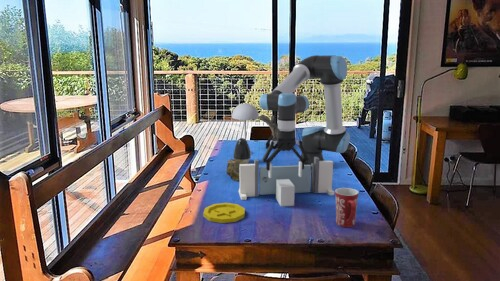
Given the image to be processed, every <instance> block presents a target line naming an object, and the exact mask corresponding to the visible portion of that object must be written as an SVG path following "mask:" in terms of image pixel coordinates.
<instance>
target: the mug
mask: <svg viewBox="0 0 500 281" xmlns="http://www.w3.org/2000/svg"><path fill="white" fill-rule="evenodd" d="M334 192H335V223H336V225H337V226H338V225H339V227H340V228H341V227H342V228H353V227H355V225H356V217H357V208H358V207H357V206H358V197H359V194H360V192H359V190H357V189H355V188H351V187H339V188H336V189H335V190H334Z"/></svg>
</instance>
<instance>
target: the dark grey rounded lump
mask: <svg viewBox="0 0 500 281" xmlns="http://www.w3.org/2000/svg"><path fill="white" fill-rule="evenodd" d="M250 151H251V149H250V146H249V143H248V140H247V139H246V140H245V137H244V138H243V137H241V138H239V139H238V140H237V142H236V143H235V146H234V150H233V158H232V159H240V160H243V161H244V162H249V163H250V160H251V157H252V156H251V155H252V154H250Z"/></svg>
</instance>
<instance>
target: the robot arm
mask: <svg viewBox="0 0 500 281" xmlns="http://www.w3.org/2000/svg"><path fill="white" fill-rule="evenodd" d="M347 75H348V63H347V61H346V59H345V58H344V57H343V56H341V55H319V54H317V55H316V54H314V55H311V56H308V57H306V58H304V59H302V60H300V61H299V62H298V63H297V64H296V65H295V66H293V68H292V71H291V72H290V73H289V74H288V75H287V76H286V77H285V78H284V79H283V80H282V81H281V82H280V83H279V84H278V85H277V86H276V87H275V88H274V89H273V90H272V91H271V92H270V93H268V92H267V93H263V94H261V96H260V97H259V101H258V102H259V106H260V109H262V110H265V111H270V112H272V111H273V112H277V114H278V115H277V123H278V131H277V132H278V136H277V141H272V140H271V141H270V145H269V147H268V148H266V152H265V153H264V155H263V157H262V158H261V159H262V162H263V163H266V164H265V165H266V166H265V167H266V169H267V170H269V178H271V171H272V166H273V164H272V161H273V160H274V159H275V157H276V156H278V154H279V153H280V152H281V151H283V152H290V151H292V152H293V153H294V155H296V157H297V158H298V165H299V173H298V175H299V177H302V169H304V165H311V163H314V157H318V158H319V161H325V159H324V156H323V151H324V152H330V153H336V154H337V153H338V154H339V153H340V154H343V153H345V152H346V151H347V150H348V147H349V144H350V141H351V135H350V132H347V130H346V129H347V128H346V126H344V125H343V106H342V104H343V103H342V88H341V87H342V86H341V85H342V83H343V82H344V80H345V79H346V78H347V77H348V76H347ZM309 79H320V84H321V85H322V86H323V91H324V92H323V93H324V95H323V96H324V108H325V121H326V122H325V123H326V127H324V126H321V125H315V126H314V125H313V126H307V127H304V128H303V129H302V133H301V134H302V135H301V139H298V140H296V116H297V114H300V113H303V112H305V111H307V110H308V109H309V108H310V107H309V106H310V101H309V99H308V98H307V96H305V95H301V94H300V95H296V93H294V92H295V91H296V90H297V89H298V88H299V86H301V85H302V84H303V82H307V81H308V80H309ZM275 144H277V145H278V147H277V148H276V149H275V150H274V149H273V146H275ZM295 145H297V146H298V147H299V150H300V152H301V154H300V153H299V152H298V151H297V150H296V148H295ZM272 150H274V151H273V152H272ZM271 152H272V153H271Z"/></svg>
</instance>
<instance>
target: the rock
mask: <svg viewBox="0 0 500 281" xmlns="http://www.w3.org/2000/svg"><path fill="white" fill-rule="evenodd" d="M240 164H250V161H249V162H244V161H243V160H240V159H234V158H231V159H229V160H227V166H226V175H227V176H229V177H231V178H232V180H233V181H234V182H239V181H240Z"/></svg>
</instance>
